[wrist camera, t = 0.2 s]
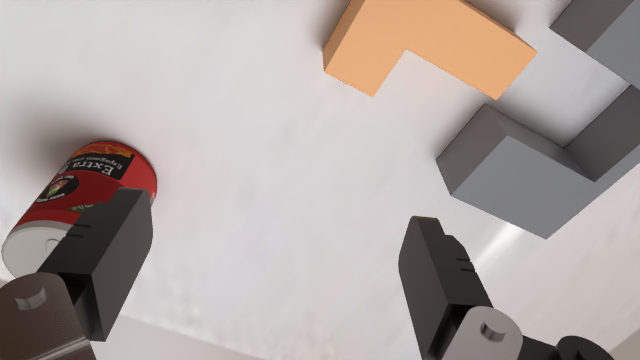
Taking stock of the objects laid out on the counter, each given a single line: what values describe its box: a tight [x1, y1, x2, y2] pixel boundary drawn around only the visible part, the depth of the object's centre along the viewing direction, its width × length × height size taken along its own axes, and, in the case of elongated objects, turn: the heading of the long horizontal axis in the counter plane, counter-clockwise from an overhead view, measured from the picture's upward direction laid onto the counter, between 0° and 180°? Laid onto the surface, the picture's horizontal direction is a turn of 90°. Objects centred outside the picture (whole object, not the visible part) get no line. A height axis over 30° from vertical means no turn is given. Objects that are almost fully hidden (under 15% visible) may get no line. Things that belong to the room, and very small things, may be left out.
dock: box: [436, 0, 640, 239], centre depth 32 cm, size 20×11×5 cm, turn 151°
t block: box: [322, 0, 538, 100], centre depth 29 cm, size 12×12×4 cm
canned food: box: [1, 141, 157, 278], centre depth 34 cm, size 8×8×11 cm
